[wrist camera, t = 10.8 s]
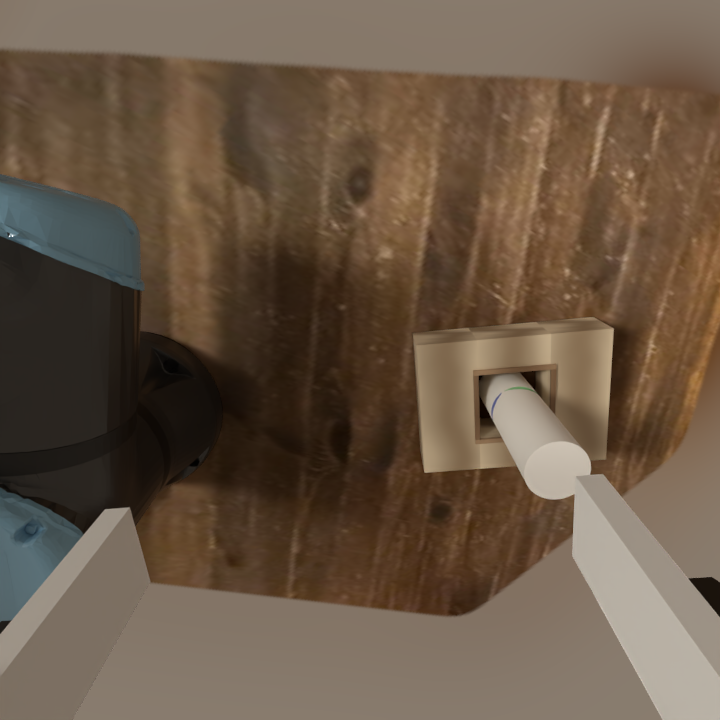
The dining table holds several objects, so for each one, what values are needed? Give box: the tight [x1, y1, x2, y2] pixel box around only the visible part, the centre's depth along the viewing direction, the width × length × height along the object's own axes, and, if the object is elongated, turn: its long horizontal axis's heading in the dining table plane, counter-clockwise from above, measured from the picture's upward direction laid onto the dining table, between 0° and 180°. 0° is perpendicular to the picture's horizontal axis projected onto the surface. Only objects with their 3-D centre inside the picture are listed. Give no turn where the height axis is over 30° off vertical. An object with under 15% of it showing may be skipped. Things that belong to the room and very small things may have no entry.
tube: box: [479, 372, 591, 499], centre depth 40 cm, size 4×4×15 cm
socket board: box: [413, 317, 614, 473], centre depth 45 cm, size 16×12×4 cm
